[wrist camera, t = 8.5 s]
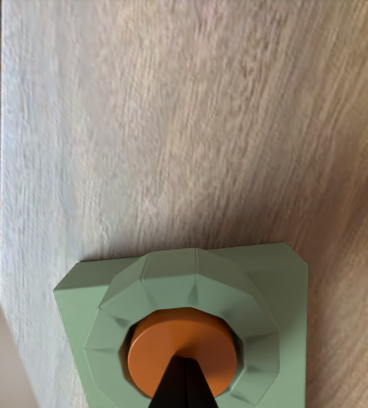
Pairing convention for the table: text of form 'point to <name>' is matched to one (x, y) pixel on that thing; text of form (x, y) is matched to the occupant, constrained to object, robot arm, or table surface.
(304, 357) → the green button plate
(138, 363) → the orange cylinder plug
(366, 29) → the table surface
